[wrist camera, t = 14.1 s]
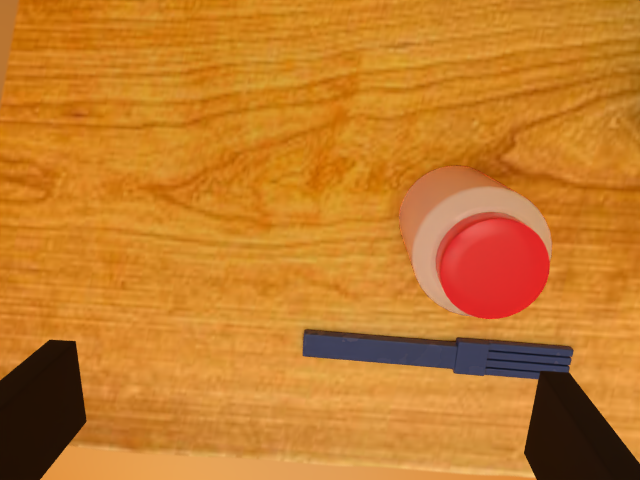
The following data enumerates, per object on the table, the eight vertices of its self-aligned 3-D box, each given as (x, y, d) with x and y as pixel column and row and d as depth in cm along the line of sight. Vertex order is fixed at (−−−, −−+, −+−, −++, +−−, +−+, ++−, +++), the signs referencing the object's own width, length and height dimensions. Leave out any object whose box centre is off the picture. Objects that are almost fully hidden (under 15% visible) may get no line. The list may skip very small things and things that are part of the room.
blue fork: (303, 355, 39) (302, 360, 38) (304, 324, 38) (303, 329, 37) (563, 377, 38) (567, 383, 37) (570, 346, 37) (575, 351, 36)
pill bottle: (529, 206, 34) (607, 254, 24) (459, 287, 36) (502, 364, 26) (443, 143, 33) (485, 164, 23) (377, 230, 35) (387, 286, 25)
